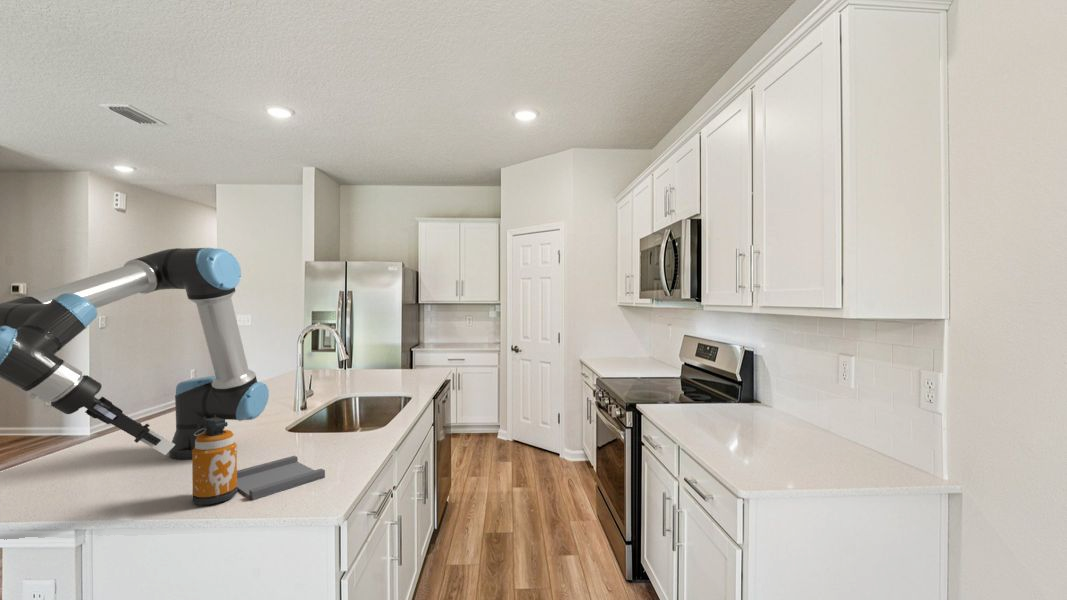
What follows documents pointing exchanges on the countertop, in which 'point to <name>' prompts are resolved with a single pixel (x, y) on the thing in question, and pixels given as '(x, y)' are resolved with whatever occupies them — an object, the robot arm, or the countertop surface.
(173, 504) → the countertop surface
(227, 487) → the canister
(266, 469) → the tray
